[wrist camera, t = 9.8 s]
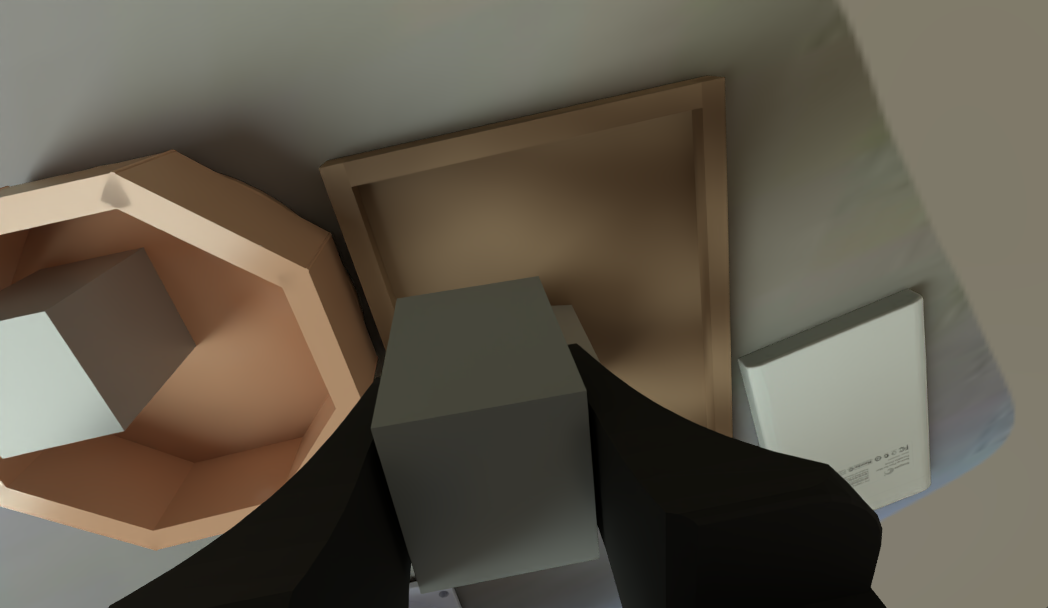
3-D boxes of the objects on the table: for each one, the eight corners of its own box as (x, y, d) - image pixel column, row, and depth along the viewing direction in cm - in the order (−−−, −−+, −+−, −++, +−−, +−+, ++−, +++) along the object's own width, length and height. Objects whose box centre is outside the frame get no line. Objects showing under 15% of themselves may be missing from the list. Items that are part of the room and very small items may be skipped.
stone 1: (196, 345, 20) (124, 431, 15) (102, 366, 20) (2, 458, 15) (143, 246, 18) (44, 311, 14) (39, 269, 18) (-94, 341, 14)
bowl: (407, 423, 23) (399, 490, 20) (113, 494, 23) (52, 576, 19) (294, 121, 18) (255, 139, 14) (-100, 208, 17) (-245, 250, 14)
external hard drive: (898, 282, 24) (912, 467, 30) (730, 352, 25) (774, 521, 30) (927, 297, 23) (936, 488, 28) (748, 370, 23) (791, 545, 29)
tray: (720, 457, 27) (733, 476, 26) (456, 523, 26) (457, 545, 25) (707, 75, 19) (724, 77, 18) (326, 160, 18) (318, 168, 17)
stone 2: (553, 406, 15) (599, 558, 10) (428, 428, 15) (420, 594, 10) (538, 276, 13) (586, 390, 9) (397, 298, 13) (371, 428, 8)
